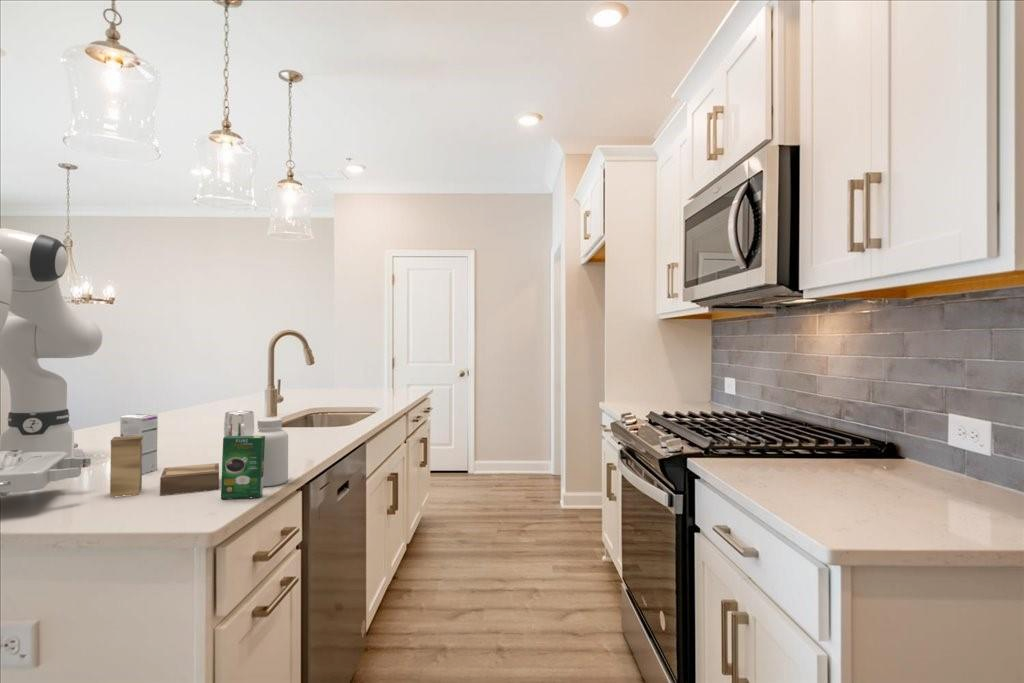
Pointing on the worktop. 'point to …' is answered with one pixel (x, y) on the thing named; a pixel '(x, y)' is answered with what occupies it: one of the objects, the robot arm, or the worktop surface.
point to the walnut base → (189, 478)
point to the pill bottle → (274, 451)
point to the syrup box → (149, 430)
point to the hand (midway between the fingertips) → (85, 466)
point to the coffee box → (242, 466)
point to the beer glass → (239, 423)
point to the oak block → (126, 465)
